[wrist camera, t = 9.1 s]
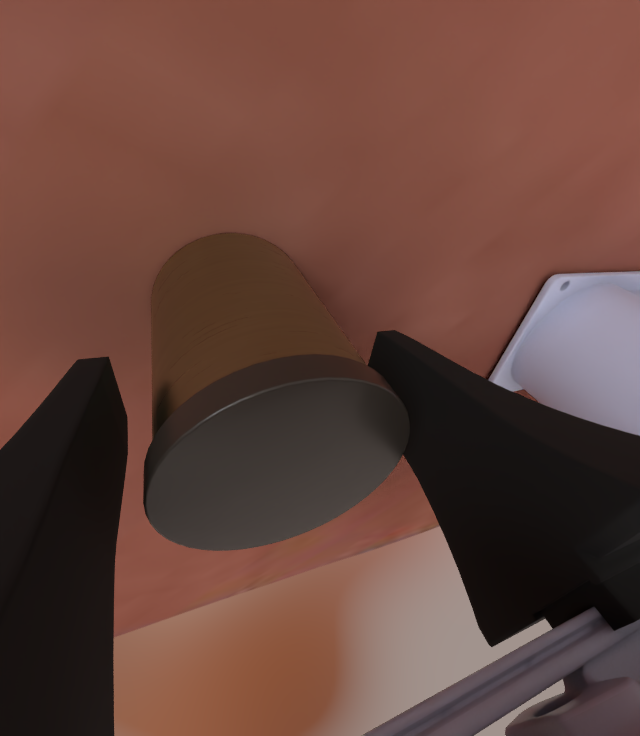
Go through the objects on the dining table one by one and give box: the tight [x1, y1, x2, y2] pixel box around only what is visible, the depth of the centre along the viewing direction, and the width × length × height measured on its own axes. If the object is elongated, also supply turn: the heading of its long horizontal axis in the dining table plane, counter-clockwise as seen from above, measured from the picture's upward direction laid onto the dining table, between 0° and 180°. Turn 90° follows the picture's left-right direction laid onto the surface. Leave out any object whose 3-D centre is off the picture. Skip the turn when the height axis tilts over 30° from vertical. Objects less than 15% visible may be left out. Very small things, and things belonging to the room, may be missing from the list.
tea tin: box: [143, 233, 410, 551], centre depth 10 cm, size 6×6×7 cm
